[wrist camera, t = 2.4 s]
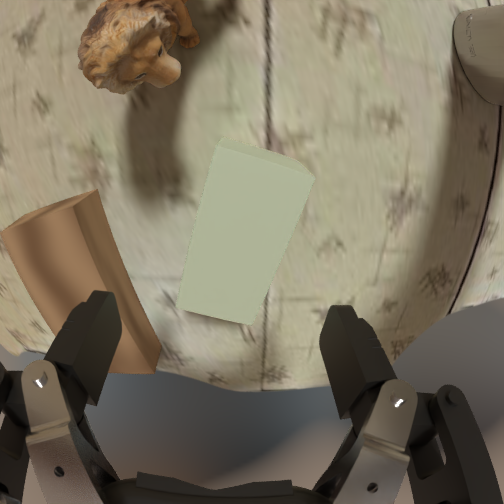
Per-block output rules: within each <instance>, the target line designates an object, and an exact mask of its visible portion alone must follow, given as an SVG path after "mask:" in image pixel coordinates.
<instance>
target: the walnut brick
mask: <svg viewBox="0 0 504 504" xmlns="http://www.w3.org/2000/svg"><path fill="white" fill-rule="evenodd" d="M0 234H1V236H2V239H3V241H4V243H5V246H6V248H7V250H8V253H9V255H10V257H11V259H12V261H13V264H14V266H15V268H16V270H17V272H18V274H19V276H20V278H21V280H22V282H23V284H24V285H25V287H26V289H27V291H28V293H29V295H30V296H31V298H32V300H33V302H34V303H35V305H36V307H37V308H38V310H39V312H40V313H41V315H42V317H43V318H44V320H45V321H46V323H47V324H48V326H49V327H50V329H51V330H52V332H53V333H54V335H55V336H57V334H58V332H59V331H60V329H62V325H63V324H64V322H65V321H66V319H67V317H68V316H69V314H70V312H71V311H72V309H73V308H75V307H76V306H77V305H78V304H80V303H81V302H86V301H87V299H88V298H89V296H90V295H91V293H92V292H93V291H94V290H100V291H109V292H113V293H114V295H115V298H116V302H117V306H118V310H119V314H120V318H121V322H122V335H121V339H120V341H119V344H118V346H117V349H116V352H115V354H114V357H113V360H112V362H111V365H110V368H109V371H108V373H126V374H155V370H156V366H157V362H158V358H159V355H160V351H161V347H162V345H161V343H160V341H159V339H158V338H157V336H156V334H155V332H154V330H153V328H152V326H151V324H150V322H149V320H148V318H147V316H146V313H145V311H144V309H143V307H142V305H141V303H140V301H139V298H138V296H137V294H136V292H135V290H134V287H133V285H132V283H131V280H130V278H129V276H128V273H127V271H126V269H125V266H124V264H123V261H122V259H121V256H120V254H119V251H118V248H117V246H116V243H115V240H114V238H113V235H112V232H111V229H110V226H109V224H108V221H107V218H106V215H105V212H104V209H103V206H102V202H101V199H100V196H99V193H98V189H96V190H93V191H90V192H86V193H83V194H80V195H77V196H74V197H71V198H68V199H65V200H63V201H60V202H57V203H54V204H51V205H49V206H46V207H43V208H41V209H38V210H35V211H33V212H30V213H28V214H25V215H24V216H22V217H21V218H19V219H18V220H17V221H15V222H14V223H12V224H11V225H10V226H8V227H7V228H6V229H5V230H3V231H2V232H1V233H0Z"/></svg>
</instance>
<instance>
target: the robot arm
mask: <svg viewBox="0 0 504 504" xmlns="http://www.w3.org/2000/svg"><path fill="white" fill-rule="evenodd" d="M454 40H455V45H456V49H457V54H458V56H459V59H460V62H461V65H462V67H463V69H464V71H465V73H466V76H467V77H468V79H469V81H470V82H471V84H472V86H473V87H474V88H475V89H476V91H477V92H478V93H479V94H480V95H481V96H482V97H483V98H484V99H485V100H487V101H488V102H490V103H492V104H496V105H501V106H504V5H496V6H489V7H483V8H477V9H472V10H467V11H463V12H461V13H460V14H459V15H458V16H457V18H456V20H455V24H454ZM121 335H122V322H121V318H120V314H119V310H118V306H117V302H116V298H115V295H114V293H113V292H109V291H100V290H94V291H93V292H92V293H91V295H90V296H89V298H88V299H87V301H86V302H81V303H80V304H78V305H77V306H76V307H75V308H73V309H72V311H71V312H70V314H69V316H68V317H67V319H66V321H65V322H64V324H63V325H62V329H60V331H59V332H58V334H57V336H56V338H55V339H54V341H53V343H52V345H51V346H50V348H49V350H48V352H47V354H46V356H45V358H44V359H43V360H36V361H33V362H32V363H30V364H29V365H28V366H27V367H26V368H25V369H24V371H7V370H6V369H5V367H4V366H3V365H2V363H1V362H0V414H1V411H2V412H3V413H4V414H5V417H4V420H3V423H2V426H1V429H0V504H22V497H23V490H24V484H25V478H26V473H27V468H28V463H29V458H30V459H31V462H32V465H33V468H34V471H35V473H36V476H37V479H38V482H39V485H40V487H41V490H42V492H43V494H44V497H45V499H46V501H47V504H394V501H395V499H396V497H397V494H398V492H399V489H400V486H401V484H402V482H403V479H404V476H405V473H406V470H407V472H408V476H409V481H410V484H411V489H412V494H413V499H414V504H503V501H502V496H501V492H500V489H499V485H498V481H497V478H496V475H495V471H494V468H493V465H492V462H491V459H490V456H489V453H488V451H487V448H486V445H485V442H484V440H483V437H482V435H481V432H480V430H479V427H478V425H477V423H476V420H475V418H474V415H473V413H472V411H471V409H470V406H469V404H468V402H467V400H466V398H465V396H464V394H463V393H462V391H461V390H460V389H459V388H457V387H455V386H453V385H444V386H442V387H441V388H440V389H439V390H438V391H437V392H436V393H435V394H431V393H418V392H416V391H415V389H414V388H413V387H412V386H411V385H410V384H409V383H407V382H405V381H403V380H399V379H397V377H396V375H395V373H394V371H393V368H392V366H391V364H390V362H389V360H388V358H387V356H386V354H385V352H384V350H383V348H381V344H380V342H379V340H377V336H376V334H375V332H374V330H373V328H372V327H371V326H370V325H369V324H368V323H367V322H366V321H365V320H364V319H363V318H358V317H357V315H356V313H355V311H354V309H353V307H352V306H351V305H332V306H331V307H330V308H329V311H328V314H327V317H326V320H325V323H324V326H323V328H322V331H321V334H320V340H319V345H320V351H321V354H322V357H323V361H324V364H325V367H326V371H327V374H328V378H329V381H330V385H331V388H332V392H333V395H334V399H335V402H336V406H337V409H338V413H339V417H340V419H346V418H351V420H352V423H353V424H352V425H351V426H350V428H349V430H348V432H347V434H346V436H345V438H344V440H343V442H342V444H341V446H340V448H339V450H338V451H337V453H336V455H335V457H334V459H333V461H332V462H331V464H330V466H329V467H328V469H327V470H326V471H325V472H324V473H323V475H322V476H321V477H320V479H319V480H318V481H317V483H316V484H315V486H314V488H313V489H312V490H309V489H306V488H302V487H297V486H292V481H291V480H282V481H267V482H252V483H248V484H244V485H239V486H234V487H229V488H224V489H218V490H210V489H207V488H204V487H200V486H197V485H194V484H190V483H187V482H184V481H181V480H178V479H176V478H171V477H164V476H158V475H152V474H147V473H142V472H137V478H130V479H123V480H120V478H119V476H118V475H117V473H116V471H115V470H114V468H113V467H112V465H111V464H110V463H109V461H108V460H107V459H106V457H105V455H104V454H103V452H102V450H101V448H100V445H99V443H98V441H97V439H96V437H95V435H94V433H93V430H92V428H91V426H90V423H89V421H88V418H87V416H86V414H85V412H84V409H85V406H86V404H90V405H94V406H97V404H98V401H99V397H100V394H101V391H102V388H103V385H104V382H105V379H106V377H107V374H108V371H109V368H110V365H111V362H112V360H113V357H114V354H115V352H116V349H117V346H118V344H119V341H120V339H121ZM438 435H439V437H440V440H441V443H442V446H443V449H444V452H445V455H446V464H445V465H444V463H443V460H442V456H441V454H440V450H439V447H438V444H437V441H436V438H435V437H436V436H438Z"/></svg>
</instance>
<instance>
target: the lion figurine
mask: <svg viewBox="0 0 504 504" xmlns="http://www.w3.org/2000/svg"><path fill="white" fill-rule="evenodd" d="M187 1H188V0H107V1H106V2H103V3H101V4H100V7H98V8H97V10H96V14H95V15H94V16H93V17H92V18H91V19H90V21H89V24H88V26H87V29H86V30H85V31H84V32H83V34H82V36H81V44H80V46H79V48H78V57H79V59H80V60H81V61H80V62H79V64H78V68H79V69H81V70H83V74H84V76H85V77H86V78H87V79H88V80H89V81H91V82H92V84H93V85H94V86H95V87H97V89H99V88H107V89H108V90H109V91H110V92H113V93H118V94H125V93H126V92H128V91H130V90H132V89H134V88H135V87H136V86H137V85H140V84H142V83H143V82H144V81H145V82H149V83H151V84H152V85H153V86H155V87H157V88H163V87H166V86H167V85H171V84H172V83H174V82H175V81H176V80H177V79H178V78H179V77H180V75H181V65H180V63H179V62H178V61H177V60H176V59H175V58H173V57H171V56H169V55H168V54H167V52H168V50H169V49H170V48H171V47H172V45H173V43H174V41H175V40H176V38H177V35H179V36H180V44H181V45H182V46H184V47H185V48H190V47H194V46H196V45H197V44H199V43H200V40H199V36H198V33H197V30H196V29H195V28H194V27H193V26H192V21H191V18H190V16H189V13H188V9H187V7H186V6H185V5H184V4H185V3H186V2H187Z"/></svg>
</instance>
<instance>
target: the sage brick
mask: <svg viewBox="0 0 504 504" xmlns="http://www.w3.org/2000/svg"><path fill="white" fill-rule="evenodd" d="M315 178H316V177H315V176H314V175H313V174H312V173H311V172H310V171H308V170H307V169H306V168H305V167H304V166H303V165H302V164H301V163H300V162H299V161H298V160H296V159H293V158H290V157H287V156H284V155H281V154H278V153H275V152H272V151H269V150H266V149H263V148H260V147H257V146H254V145H250V144H247V143H244V142H241V141H237V140H234V139H230V138H227V137H222V139H221V140H220V141H219V142H218V144H217V145H216V148H215V151H214V154H213V158H212V161H211V164H210V168H209V171H208V175H207V178H206V182H205V185H204V189H203V193H202V196H201V200H200V204H199V208H198V211H197V215H196V219H195V223H194V227H193V231H192V235H191V239H190V243H189V248H188V252H187V256H186V261H185V265H184V270H183V274H182V279H181V283H180V288H179V293H178V298H177V303H176V308H178V309H182V310H186V311H190V312H194V313H198V314H202V315H206V316H210V317H215V318H219V319H223V320H228V321H232V322H237V323H241V324H246V325H251V326H252V325H253V323H254V320H255V318H256V316H257V314H258V312H259V309H260V307H261V305H262V303H263V300H264V298H265V296H266V294H267V291H268V289H269V287H270V285H271V282H272V280H273V278H274V276H275V273H276V271H277V269H278V267H279V264H280V262H281V260H282V257H283V255H284V253H285V250H286V248H287V246H288V243H289V241H290V239H291V236H292V234H293V232H294V229H295V227H296V224H297V222H298V220H299V217H300V215H301V212H302V210H303V208H304V205H305V203H306V200H307V198H308V196H309V193H310V191H311V188H312V186H313V183H314V181H315Z"/></svg>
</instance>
